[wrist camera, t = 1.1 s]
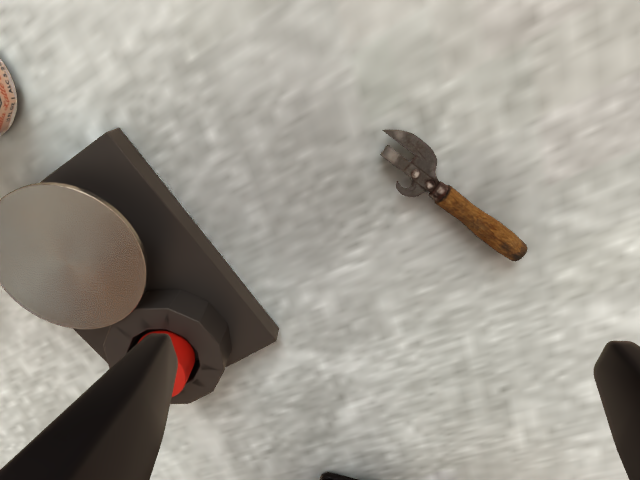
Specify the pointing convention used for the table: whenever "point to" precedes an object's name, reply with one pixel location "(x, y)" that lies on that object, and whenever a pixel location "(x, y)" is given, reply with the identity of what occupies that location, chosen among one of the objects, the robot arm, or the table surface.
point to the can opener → (449, 195)
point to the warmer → (169, 270)
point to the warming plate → (70, 256)
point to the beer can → (6, 99)
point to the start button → (180, 359)
